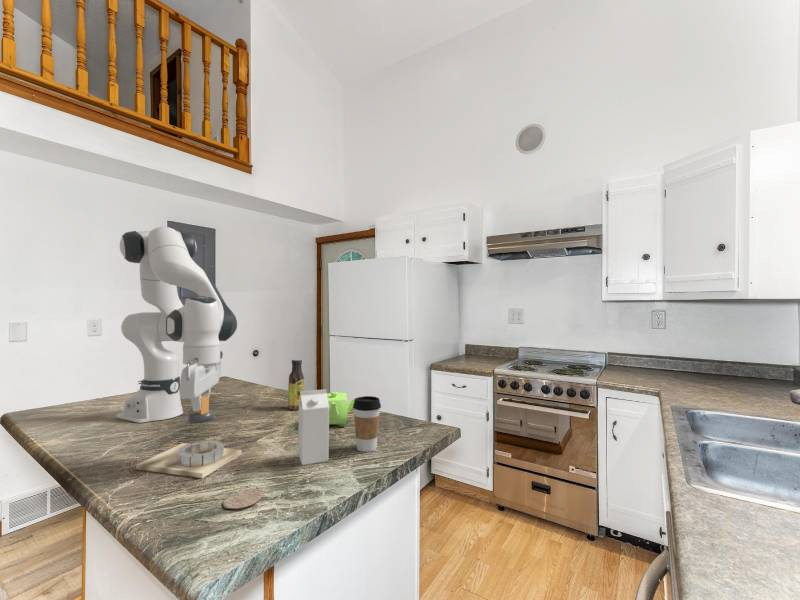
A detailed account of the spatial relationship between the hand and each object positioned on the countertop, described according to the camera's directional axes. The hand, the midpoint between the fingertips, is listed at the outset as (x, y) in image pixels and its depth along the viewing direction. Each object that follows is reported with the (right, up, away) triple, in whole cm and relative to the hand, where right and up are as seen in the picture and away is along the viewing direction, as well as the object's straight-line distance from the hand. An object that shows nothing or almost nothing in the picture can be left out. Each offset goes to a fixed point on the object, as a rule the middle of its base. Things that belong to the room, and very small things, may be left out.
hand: (201, 407), depth 101 cm
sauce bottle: (+11, -15, +52) cm, 55 cm away
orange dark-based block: (0, -3, 0) cm, 3 cm away
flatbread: (+19, -15, -19) cm, 31 cm away
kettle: (+29, -16, +33) cm, 47 cm away
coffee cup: (+44, -16, +11) cm, 48 cm away
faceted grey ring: (0, -14, 0) cm, 14 cm away
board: (-3, -15, +1) cm, 15 cm away
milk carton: (+29, -15, +3) cm, 33 cm away
